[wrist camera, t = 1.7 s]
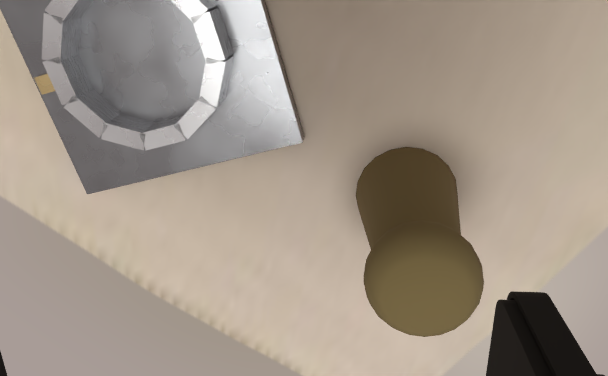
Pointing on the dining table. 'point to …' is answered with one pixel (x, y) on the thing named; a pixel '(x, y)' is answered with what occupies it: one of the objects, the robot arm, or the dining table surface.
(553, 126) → the dining table surface
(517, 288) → the dining table surface
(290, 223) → the dining table surface
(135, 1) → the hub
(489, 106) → the dining table surface
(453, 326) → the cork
